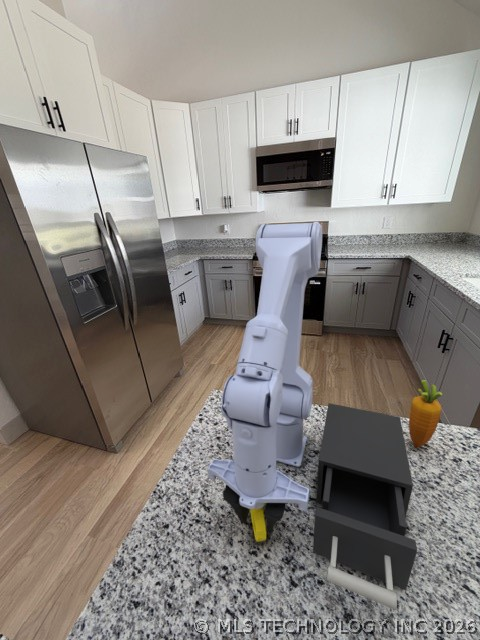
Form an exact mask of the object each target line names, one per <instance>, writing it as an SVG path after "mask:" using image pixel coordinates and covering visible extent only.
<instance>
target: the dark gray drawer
mask: <svg viewBox="0 0 480 640" xmlns="http://www.w3.org/2000/svg"><path fill="white" fill-rule="evenodd" d="M407 528H408V526H407V520H406V517H405V512H404V505H403V498H402V491H401V486H397V485H394V484H390V483H386V482H383V481H379V480H376V479H372V478H368V477H365V476H361V475H358V474H354V473H351V472H347V471H343V470H340V469H336V468H333V467H329V466H327V472H326V479H325V487H324V495H323V504H322V505H321V507H319V506H316V507H315V512H314V525H313V535H312V536H313V538H312V551H311V552H312V554H314V555H317V556H319V557H321V558H324V559H326V560H328V561H330V565H328V566H327V577H326V581H327V582H329V583H332V584H333V585H336V586H338V587H340V588H343V589H345V590H348V591H349V592H352V593H354V594H357V595H359V596H361V597H364V598H366V599H368V600H371V601H373V602H375V603H377V604H380V605H382V606H385V607H387V608H390V609H391V610H394V611H397V608H398V598H397V593H396V592H394V587H397V588H399V589H401V590H404V591H407V589H408V585H409V581H410V577H411V574H412V572H413V571H412V570H413V567H414V563H415V560H416V556H417V552H418V547H417V541H416V539H414V538H411V537H409V536H406V532H407V530H408V529H407ZM337 564H339V565H342V566H344V567H346V568H349V569H351V570H354V571H357V572H359V573H361V574H364V575H367V576H369V577H371V578H374V579H376V580H379V581H381V582H384V583H385V587H382V586H381V585H378V584H375V583H372V582H370V581H368V580H366V579H363V578H361V577H358V576H355V575H353V574H352V573H351V574H350V573H348V572H346V571H343V570H340V569H339V568H337V566H336V565H337Z"/></svg>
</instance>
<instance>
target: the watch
mask: <svg viewBox="0 0 480 640" xmlns="http://www.w3.org/2000/svg"><path fill="white" fill-rule="evenodd" d="M265 506H266V503H256V505H255V507H254V508H253V509H250V512H249V513H250V517H251V518H250V519H251V525H252V530H253V534H254V539H255V541H256V542H257V543H258V542H263V541H266V540H267V532H266V526H267V524H266V517H265V515H264V509H265Z"/></svg>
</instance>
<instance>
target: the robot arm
mask: <svg viewBox="0 0 480 640" xmlns="http://www.w3.org/2000/svg"><path fill="white" fill-rule="evenodd" d="M322 248H323V227H322V224H320V222H319V221H313V222H303V223H301V222H300V223H299V222H298V223H279V224H267V223H263V224H261V225H260V226H259V228H258V229H257V232H256V235H255V253H256V256H257V259H258V264H259V267H260V268H261V269H262V275H261V282H260V291H259V297H258V304H257V305H258V306H257V312H256V315H255V317H253V318H252V319H250V320H248V321H247V323H246V326H245V329H244V333H243V338H242V342H241V346H240V351H239V355H238V359H237V363H236V367H235V373H234V374H231V375H230V376H229V377H227V379H226V381H225V383H224V387H223V389H222V394H221V405H220V412H221V415H222V417H224V419H226V427H227V428H229V429H230V431H231V435H232V436H231V437H232V449H233V459H234V460H233V459H231V460H230V459H229V460H228V459H227V460H225V459H217V458H213V459H212V461H211V463H210V464H209V465H208V466H207V473H208V474H207V476H208V479H211V480H216V479H217V478H218V479H219V480H220V481H221V482H222V483H224V484H225V487H224V490H223V492H222V497H223V501H225V502H226V503H228V505H230V506H231V508H232V509H233V510H234V512H235V514H236V516H237V518H238V519H239V522H240V523H241V524H243V525H246V524H247V523H246V522H247V519H248V517H249V514H250V513H251V512H250V509H253V508H254V507H255V505H256V503H266V506H265V508H264V510H263V511H264V518H265V523H266V534H267V535H270V536H271V535H272V534H273V531H274V528H275V525H276V524H277V522H280V521H281V520H282V519H283V517H284V514H285V510H286V505H287V504H296V505H298V510H300V511H302V512H306V513H307V511H308V506H309V500H310V488H308V487H306V486H303V485H301V484H299V483H298V482H297V481H294V480H293V479H291V478H290V477H289V476H288V475H286V474H284V473H283V472H281V471H280V470H278V469H277V462H279V463H282V464H286V465H288V466H289V465H290V466H293V467H296V468H300V467H301V466H302V462H303V457H304V454H305V450H306V449H305V448H306V445H307V440H308V437H307V436H306V435H304V420H307V419H308V418H309V417H310V416H311V411H312V405H313V399H314V398H313V396H314V390H313V384H314V383H313V382H314V380H313V377H312V376H311V375H310V374H309V373H308V372H307V371H306V370H304V369H303V368H302V367H301V366H300V357H301V342H302V329H303V316H304V304H305V292H306V287H307V283H308V280H309V279H310V278H313V277H315V276H318V274H319V270H320V268H321V258H322V257H321V255H322Z"/></svg>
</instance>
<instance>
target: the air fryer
mask: <svg viewBox="0 0 480 640" xmlns="http://www.w3.org/2000/svg"><path fill="white" fill-rule="evenodd" d="M317 466H318V467H317V468H318V469H317V479H316V493H315V495H316V496H315V497H316V498H315V504H317V505H319V506H322V504H323V495H324V487H325V479H326V472H327V466H329V467H333V468H336V469H340V470H343V471H347V472H351V473H354V474H358V475H361V476H365V477H368V478H372V479H376V480H379V481H383V482H386V483H390V484H394V485H397V486H401V491H402V498H403V505H404V512H405V518H406V517H407V513H408V509H409V505H410V502H411V501H410V500H411V497H412V492H413V489H414V482H413V478H412V473H411V467H410V462H409V457H408V452H407V445H406V441H405V436H404V431H403V425H402V419H401V416H397V415H391V414H388V413H387V414H386V413H380V412H375V411H371V410H367V409H361V408H356V407H351V406H345V405H341V404H340V405H339V404H335V403H330V402H328V403H327V410H326V413H325V421H324V426H323V433H322V438H321V444H320V450H319V456H318V465H317Z"/></svg>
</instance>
